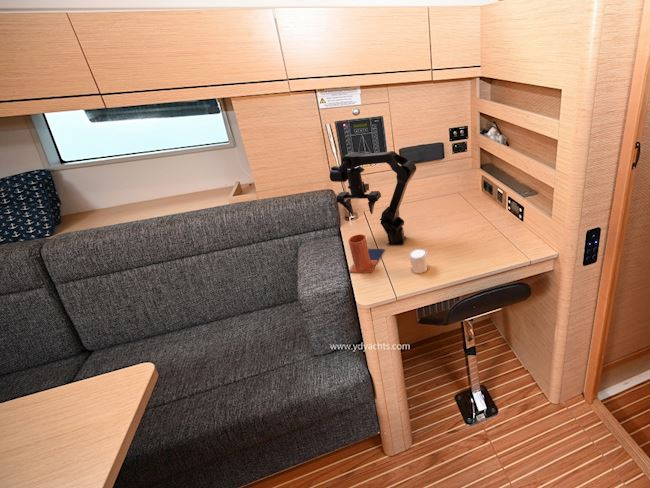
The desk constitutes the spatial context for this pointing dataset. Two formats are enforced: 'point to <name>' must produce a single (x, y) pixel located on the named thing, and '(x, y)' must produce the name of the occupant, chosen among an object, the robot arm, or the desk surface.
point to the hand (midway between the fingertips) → (362, 214)
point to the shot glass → (418, 260)
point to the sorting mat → (374, 259)
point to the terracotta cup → (360, 252)
